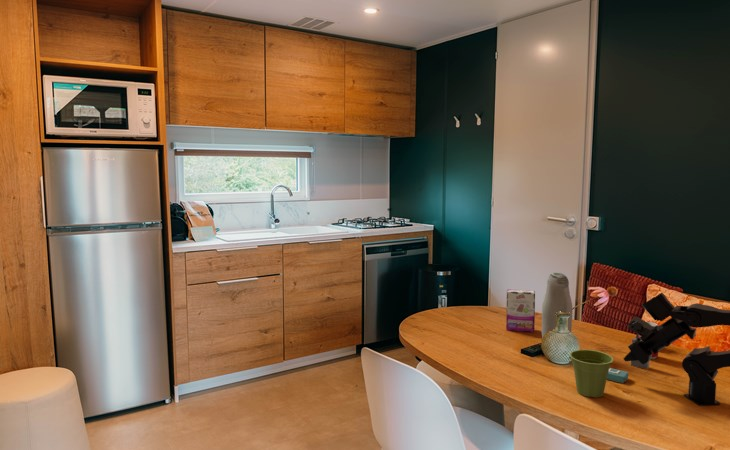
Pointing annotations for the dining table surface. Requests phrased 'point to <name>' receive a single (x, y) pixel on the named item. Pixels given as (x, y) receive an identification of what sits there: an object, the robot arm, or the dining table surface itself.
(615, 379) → the tile
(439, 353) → the dining table surface
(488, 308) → the dining table surface
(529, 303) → the candy bar box
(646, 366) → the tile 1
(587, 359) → the plant pot
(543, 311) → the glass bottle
